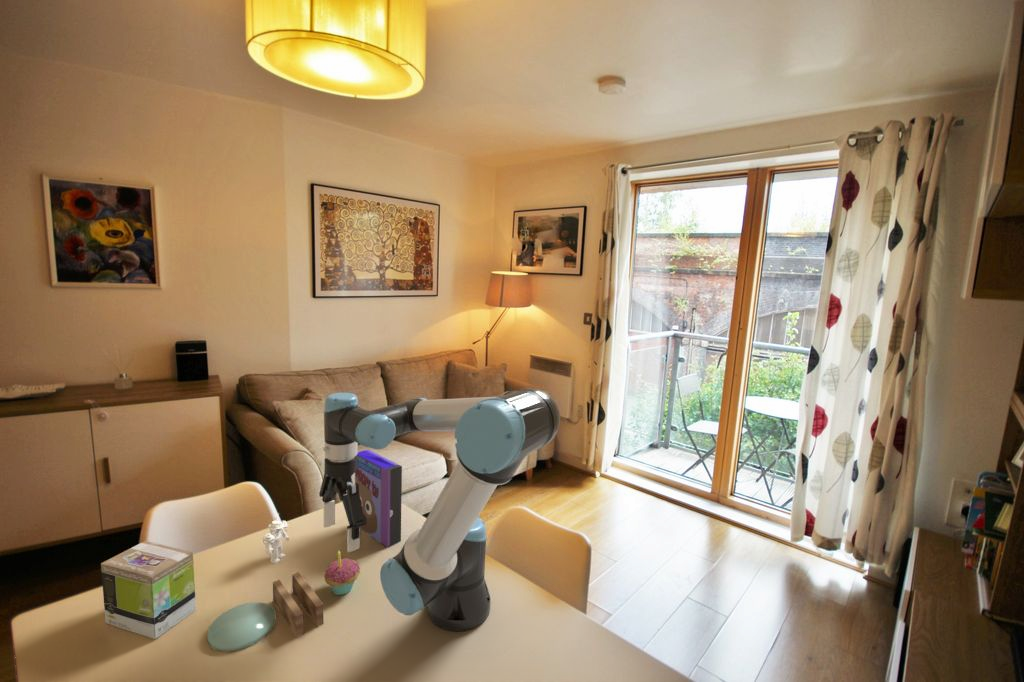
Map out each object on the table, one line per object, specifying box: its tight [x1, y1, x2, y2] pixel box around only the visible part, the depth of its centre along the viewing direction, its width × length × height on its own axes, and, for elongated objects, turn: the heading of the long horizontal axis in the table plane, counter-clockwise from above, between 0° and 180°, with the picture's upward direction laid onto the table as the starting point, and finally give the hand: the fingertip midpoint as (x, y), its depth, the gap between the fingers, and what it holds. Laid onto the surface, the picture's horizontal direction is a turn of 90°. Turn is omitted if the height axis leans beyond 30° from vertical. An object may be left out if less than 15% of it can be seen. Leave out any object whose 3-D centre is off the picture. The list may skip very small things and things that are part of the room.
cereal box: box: [354, 449, 403, 549], centre depth 140 cm, size 17×5×24 cm, turn 50°
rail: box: [272, 579, 304, 638], centre depth 106 cm, size 15×2×5 cm, turn 45°
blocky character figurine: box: [262, 512, 290, 564], centre depth 126 cm, size 9×4×12 cm, turn 173°
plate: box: [207, 601, 276, 652], centre depth 102 cm, size 13×13×1 cm
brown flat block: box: [291, 571, 324, 628], centre depth 109 cm, size 15×2×5 cm, turn 45°
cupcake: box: [323, 549, 361, 596], centre depth 115 cm, size 9×8×12 cm
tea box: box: [100, 540, 197, 640], centre depth 103 cm, size 15×10×15 cm, turn 74°
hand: (340, 537), depth 115 cm, fingers open, 13 cm apart
